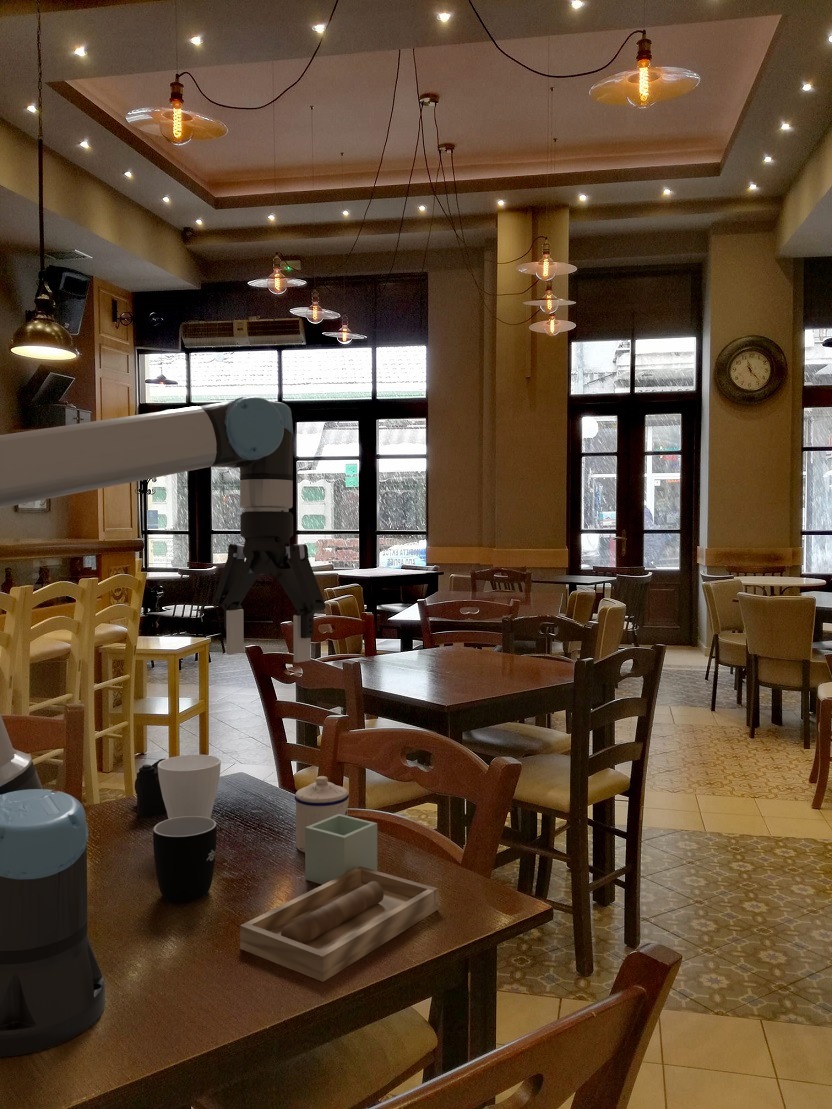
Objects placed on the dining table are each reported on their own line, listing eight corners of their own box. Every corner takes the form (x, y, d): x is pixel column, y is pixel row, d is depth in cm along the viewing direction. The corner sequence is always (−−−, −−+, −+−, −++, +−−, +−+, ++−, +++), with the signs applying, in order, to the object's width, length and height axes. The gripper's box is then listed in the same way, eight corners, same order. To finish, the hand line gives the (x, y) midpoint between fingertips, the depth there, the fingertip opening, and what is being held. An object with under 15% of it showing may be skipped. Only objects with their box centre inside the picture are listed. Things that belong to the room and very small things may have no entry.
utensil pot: (344, 891, 128) (344, 837, 128) (305, 879, 133) (305, 827, 133) (377, 874, 135) (377, 823, 134) (338, 863, 139) (338, 813, 139)
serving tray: (323, 981, 103) (322, 956, 102) (240, 948, 111) (240, 925, 111) (437, 909, 122) (437, 888, 122) (360, 886, 130) (360, 866, 130)
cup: (189, 856, 142) (188, 774, 142) (144, 844, 148) (144, 765, 147) (234, 836, 151) (233, 759, 151) (190, 826, 157) (190, 751, 156)
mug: (215, 905, 124) (214, 834, 123) (149, 909, 122) (149, 838, 122) (219, 872, 136) (219, 807, 135) (160, 876, 134) (159, 811, 134)
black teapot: (186, 792, 177) (186, 743, 177) (212, 804, 170) (211, 753, 169) (120, 807, 168) (119, 755, 168) (144, 820, 160) (143, 766, 160)
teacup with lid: (355, 852, 144) (355, 782, 144) (300, 858, 141) (300, 787, 141) (337, 828, 155) (337, 763, 155) (286, 834, 152) (286, 768, 152)
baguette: (383, 931, 120) (295, 952, 107) (367, 928, 122) (278, 948, 109) (385, 881, 122) (299, 897, 108) (368, 879, 124) (281, 893, 110)
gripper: (349, 509, 122) (350, 661, 122) (227, 512, 136) (228, 647, 137) (313, 508, 115) (314, 668, 116) (189, 511, 130) (190, 653, 131)
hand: (267, 657), depth 126 cm, fingers open, 13 cm apart
